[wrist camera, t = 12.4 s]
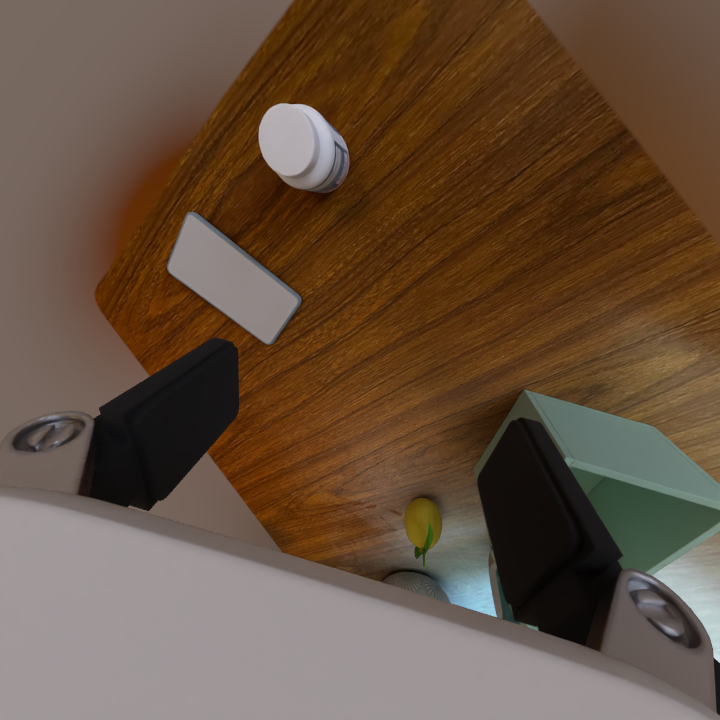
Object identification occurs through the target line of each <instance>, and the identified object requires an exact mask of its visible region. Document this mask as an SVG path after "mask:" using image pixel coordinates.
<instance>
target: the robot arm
mask: <svg viewBox="0 0 720 720" xmlns="http://www.w3.org/2000/svg"><path fill="white" fill-rule="evenodd" d="M99 410H100V413H101V414H100V415H99V416H97V417H96V418H94V419H93V418H92V417H91V416H90V415H89V414H86V413H83V412H77V411H64V412H56V413H51V414H46V415H43V416H40V417H37V418H34V419H31V420H29V421H27V422H25V423H23V424H21V425H19V426H18V427H16V428H15V429H13V430H12V431H11V432H9V433H8V434H7V435H6V437H5V438H4V439H3V440H2V442H1V444H0V720H720V663H719V662H718V661H717V660H716V659H714V658H713V648H712V644H711V640H710V637H709V635H708V633H707V632H706V630H705V628H704V626H703V624H702V623H701V621H700V620H699V619H698V617H697V616H696V615H695V614H694V612H693V611H692V610H691V608H690V607H689V606H688V605H687V604H686V603H685V602H684V601H683V600H682V599H681V598H680V597H679V596H678V595H677V594H676V593H674V592H673V591H672V590H671V589H670V588H669V587H667V586H666V585H665V584H664V583H662V582H661V581H659V580H657V579H656V578H654V577H653V576H651V575H649V574H647V573H645V572H643V571H641V570H637V569H632V568H627V569H622V567H621V566H620V564H619V562H618V560H619V559H620V558H621V557H623V554H622V553H621V551H620V549H619V548H618V546H617V544H616V543H615V541H614V540H613V538H612V536H611V535H610V533H609V532H608V530H607V528H606V527H605V525H604V523H603V522H602V520H601V519H600V517H599V515H598V514H597V512H596V510H595V509H594V507H593V506H592V504H591V502H590V501H589V499H588V498H587V496H586V494H585V493H584V491H583V489H582V488H581V486H580V485H579V483H578V481H577V480H576V478H575V476H574V475H573V473H572V472H571V470H570V468H569V467H568V465H567V463H566V462H565V460H564V459H563V457H562V455H561V454H560V452H559V451H558V449H557V447H556V446H555V444H554V442H553V441H552V439H551V438H550V436H549V434H548V433H547V431H546V429H545V428H544V426H543V425H542V424H541V423H540V422H538V421H534V420H530V419H526V418H522V417H520V418H518V419H517V420H512V421H511V422H510V423H509V425H508V427H507V428H506V430H505V432H504V433H503V435H502V437H501V438H500V440H499V442H498V443H497V445H496V447H495V448H494V450H493V452H492V453H491V455H490V457H489V458H488V460H487V462H486V463H485V465H484V467H483V468H482V470H481V472H480V473H479V475H478V479H477V486H478V490H479V494H480V499H481V503H482V507H483V511H484V515H485V520H486V524H487V528H488V532H489V536H490V541H491V545H492V549H493V553H494V557H495V562H496V566H497V570H498V574H499V578H500V583H501V587H502V591H503V595H504V598H505V600H506V602H507V603H508V604H510V605H511V609H512V613H513V617H514V621H517V622H520V623H524V624H527V625H531V626H534V627H536V626H537V627H538V631H537V630H534V629H531V628H528V627H525V626H522V625H519V624H516V623H513V622H510V621H506V620H503V619H500V618H497V617H493V616H490V615H487V614H484V613H480V612H477V611H474V610H471V609H467V608H464V607H461V606H457V605H454V604H451V603H448V602H444V601H441V600H438V599H435V598H431V597H428V596H425V595H421V594H418V593H415V592H412V591H408V590H405V589H402V588H399V587H395V586H392V585H389V584H385V583H382V582H379V581H375V580H372V579H369V578H365V577H362V576H359V575H356V574H352V573H349V572H346V571H342V570H339V569H336V568H332V567H329V566H326V565H322V564H319V563H316V562H312V561H309V560H306V559H302V558H299V557H296V556H292V555H289V554H285V553H282V552H279V551H275V550H272V549H269V548H265V547H262V546H258V545H255V544H251V543H248V542H245V541H242V540H238V539H234V538H231V537H228V536H225V535H221V534H218V533H214V532H211V531H207V530H204V529H201V528H197V527H194V526H191V525H187V524H184V523H180V522H177V521H174V520H170V519H166V518H163V517H160V516H156V515H153V514H149V513H145V512H142V511H138V510H134V509H130V508H127V507H128V506H129V505H130V506H133V507H137V508H140V509H143V510H147V511H149V510H150V509H151V508H152V507H153V506H154V504H155V503H156V502H157V501H158V500H159V501H161V500H163V499H165V498H166V497H167V496H168V495H169V494H170V493H171V492H172V491H173V489H174V488H175V487H176V486H177V485H178V484H179V482H180V481H181V480H182V479H183V478H184V477H185V476H186V474H187V473H188V472H189V471H190V470H191V469H192V468H193V466H194V465H195V464H196V463H197V462H198V461H199V460H200V458H201V457H202V456H203V455H204V454H205V453H206V452H207V450H208V449H209V448H210V447H211V446H212V445H213V444H214V442H215V441H216V440H217V439H218V438H219V437H220V435H221V434H222V433H223V432H224V431H225V430H226V429H227V427H228V426H229V425H230V424H231V423H232V422H233V421H234V419H235V418H236V416H237V414H238V411H239V377H238V349H237V348H236V347H234V344H233V343H232V342H231V341H227V340H223V339H219V338H212V339H210V340H209V341H207V342H205V343H204V344H202V345H201V346H199V347H197V348H196V349H194V350H192V351H191V352H189V353H188V354H186V355H184V356H183V357H181V358H179V359H178V360H176V361H175V362H173V363H171V364H170V365H168V366H166V367H165V368H163V369H162V370H160V371H158V372H157V373H155V374H153V375H152V376H150V377H149V378H147V379H145V380H144V381H142V382H140V383H139V384H137V385H136V386H134V387H132V388H131V389H129V390H127V391H126V392H124V393H123V394H121V395H119V396H118V397H116V398H115V399H113V400H111V401H110V402H108V403H106V404H105V405H103V406H101V407H100V408H99Z"/></svg>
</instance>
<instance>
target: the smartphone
mask: <svg viewBox="0 0 720 720" xmlns="http://www.w3.org/2000/svg"><path fill="white" fill-rule="evenodd" d="M167 270H168V272H169V273H170V274H171V275H172V276H174V277H175V278H176V279H178V280H179V281H180V282H182V283H183V284H185V285H186V286H187V287H189V288H190V289H191V290H193V291H194V292H195V293H197V294H198V295H199V296H201V297H202V298H204V299H205V300H206V301H208V302H209V303H210V304H212V305H213V306H214V307H216V308H217V309H218V310H220V311H221V312H223V313H224V314H225V315H227V316H228V317H229V318H231V319H232V320H233V321H235V322H236V323H237V324H239V325H240V326H241V327H243V328H244V329H246V330H247V331H248V332H250V333H251V334H252V335H254V336H255V337H256V338H258V339H259V340H260V341H262V342H263V343H265V344H267V345H270V344H272V343H273V342H274V341H275V340H276V338H277V337H278V335H279V334H280V333H281V331H282V330H283V328H284V327H285V326H286V324H287V323H288V321H289V320H290V318H291V317H292V316H293V314H294V313H295V311H296V310H297V309H298V307H299V306H300V304H301V297H300V295H299V294H298V293H296V292H295V291H294V290H293V289H291V288H290V287H289V286H287V285H286V284H285V283H284V282H282V281H281V280H280V279H279V278H277V277H276V276H275V275H274V274H272V273H271V272H270V271H269V270H267V269H266V268H265V267H264V266H262V265H261V264H260V263H259V262H257V261H256V260H255V259H254V258H252V257H251V256H250V255H249V254H247V253H246V252H245V251H244V250H242V249H241V248H240V247H239V246H237V245H236V244H235V243H234V242H232V241H231V240H230V239H229V238H227V237H226V236H225V235H224V234H222V233H221V232H220V231H219V230H217V229H216V228H215V227H214V226H212V225H211V224H210V223H209V222H207V221H206V220H205V219H204V218H202V217H201V216H200V215H199V214H197V213H195V212H189V213H187V214H186V216H185V219H184V222H183V224H182V227H181V230H180V232H179V235H178V237H177V240H176V243H175V245H174V248H173V251H172V253H171V256H170V259H169V261H168V264H167Z"/></svg>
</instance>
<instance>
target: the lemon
mask: <svg viewBox="0 0 720 720" xmlns="http://www.w3.org/2000/svg"><path fill="white" fill-rule="evenodd" d="M404 524H405V529H406V533H407V535H408V538H409V540H410V541H411V542H412V543H413V544H414V545H415V546H416V548H415V557H416V558H418V557H419V556H420V555H421V554H423V566H424V567H425V554H426V552H427V551H428V549H429V548H431V547H433V546H434V545H435V544H436V543H437V541H438V540H439V538H440V534H441V530H442V518H441V514H440V511H439V508H438V507H437V505H436V504H435V503H434V502H432V501H431V500H429V499H426V498H418V499H415V500H413V501H412V502H411V503H410V504H409V505H408V506H407V508H406V510H405V516H404Z"/></svg>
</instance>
